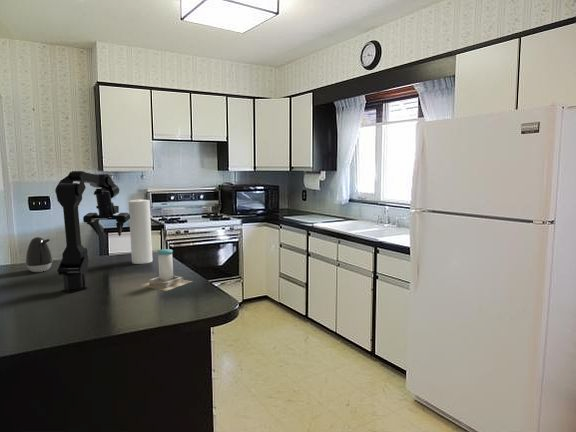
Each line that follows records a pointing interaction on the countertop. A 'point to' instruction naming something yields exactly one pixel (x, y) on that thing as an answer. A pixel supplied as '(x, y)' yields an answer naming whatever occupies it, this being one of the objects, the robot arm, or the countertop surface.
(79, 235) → the robot arm
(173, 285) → the housing
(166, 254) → the white tall cylindrical piece
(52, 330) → the countertop surface
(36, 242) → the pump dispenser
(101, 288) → the countertop surface
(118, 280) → the countertop surface
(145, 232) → the cylinder container
